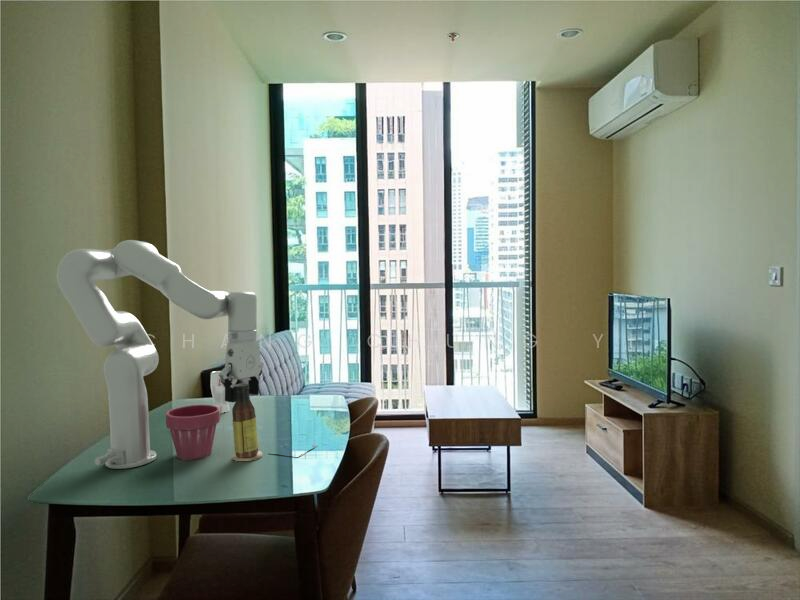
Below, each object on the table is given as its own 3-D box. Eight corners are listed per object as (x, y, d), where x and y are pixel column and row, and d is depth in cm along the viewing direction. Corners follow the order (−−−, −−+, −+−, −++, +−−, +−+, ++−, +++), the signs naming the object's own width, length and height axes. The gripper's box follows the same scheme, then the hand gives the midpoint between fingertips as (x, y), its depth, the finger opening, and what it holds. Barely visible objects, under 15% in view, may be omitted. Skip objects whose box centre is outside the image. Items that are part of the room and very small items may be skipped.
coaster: (250, 463, 141) (249, 461, 141) (226, 460, 144) (226, 458, 144) (268, 454, 148) (268, 451, 148) (245, 451, 151) (245, 449, 151)
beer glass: (210, 410, 198) (209, 371, 198) (229, 408, 201) (228, 369, 201) (212, 415, 192) (210, 374, 191) (232, 412, 195) (230, 372, 194)
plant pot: (231, 449, 153) (229, 405, 153) (197, 465, 140) (195, 418, 139) (192, 444, 158) (190, 402, 157) (155, 460, 145) (153, 414, 144)
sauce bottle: (260, 451, 149) (258, 381, 148) (255, 458, 142) (252, 386, 142) (237, 452, 148) (234, 382, 148) (231, 459, 142) (228, 387, 141)
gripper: (232, 340, 135) (232, 406, 136) (272, 334, 151) (272, 393, 152) (209, 338, 138) (209, 403, 138) (251, 332, 154) (251, 390, 154)
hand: (242, 397), depth 145 cm, fingers open, 9 cm apart
